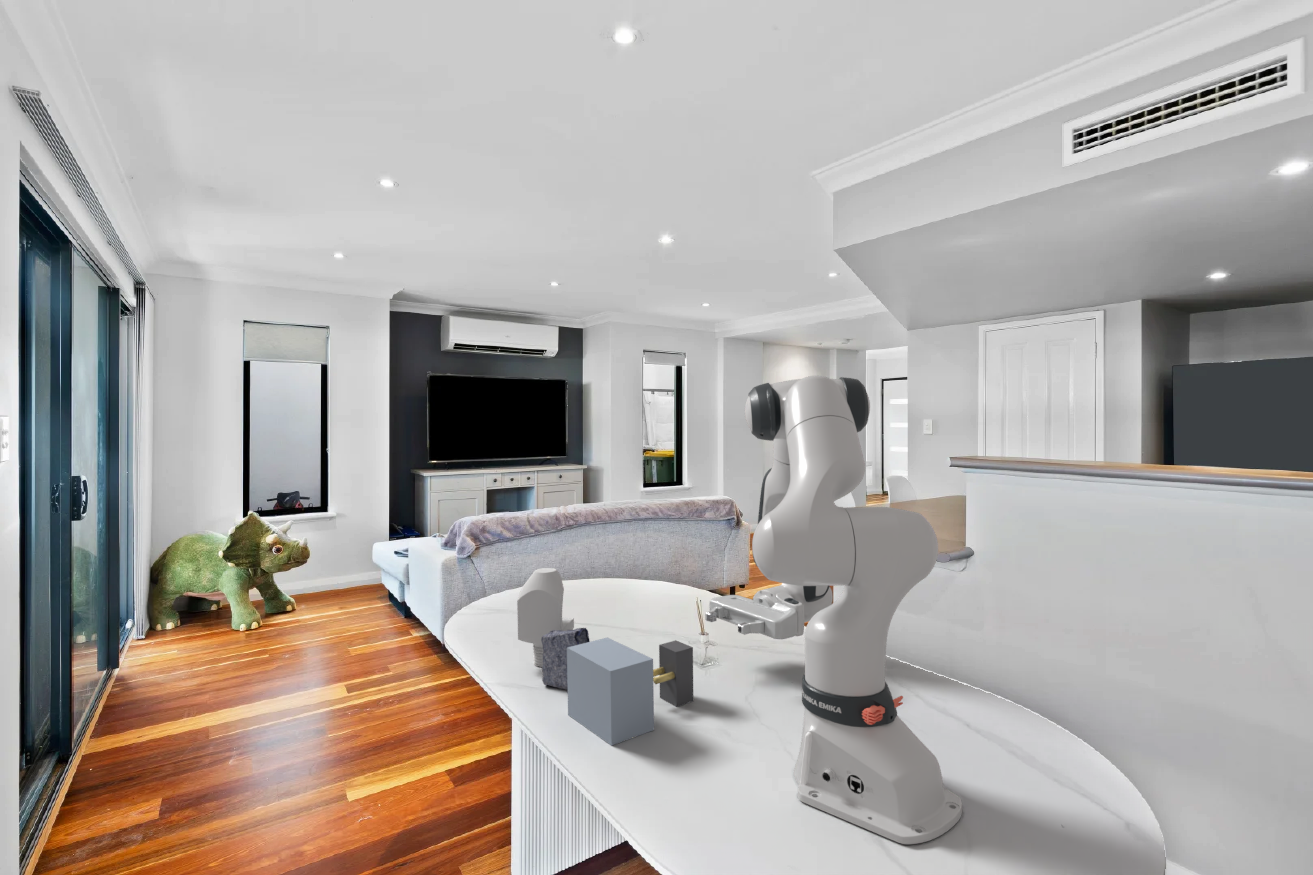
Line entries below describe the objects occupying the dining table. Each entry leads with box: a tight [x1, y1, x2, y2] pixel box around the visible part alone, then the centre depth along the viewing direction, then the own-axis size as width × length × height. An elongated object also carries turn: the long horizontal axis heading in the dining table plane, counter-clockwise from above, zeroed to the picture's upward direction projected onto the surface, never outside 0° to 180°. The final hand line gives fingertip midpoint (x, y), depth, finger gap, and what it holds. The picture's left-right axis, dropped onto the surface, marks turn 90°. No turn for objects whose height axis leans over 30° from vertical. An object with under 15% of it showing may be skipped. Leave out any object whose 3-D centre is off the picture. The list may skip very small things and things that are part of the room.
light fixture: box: [516, 567, 575, 668], centre depth 140 cm, size 9×9×20 cm
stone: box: [541, 627, 591, 691], centre depth 130 cm, size 12×10×10 cm
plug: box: [653, 639, 694, 708], centre depth 119 cm, size 5×8×10 cm, turn 127°
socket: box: [567, 637, 655, 746], centre depth 112 cm, size 14×9×12 cm, turn 37°
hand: (723, 623), depth 128 cm, fingers open, 8 cm apart
